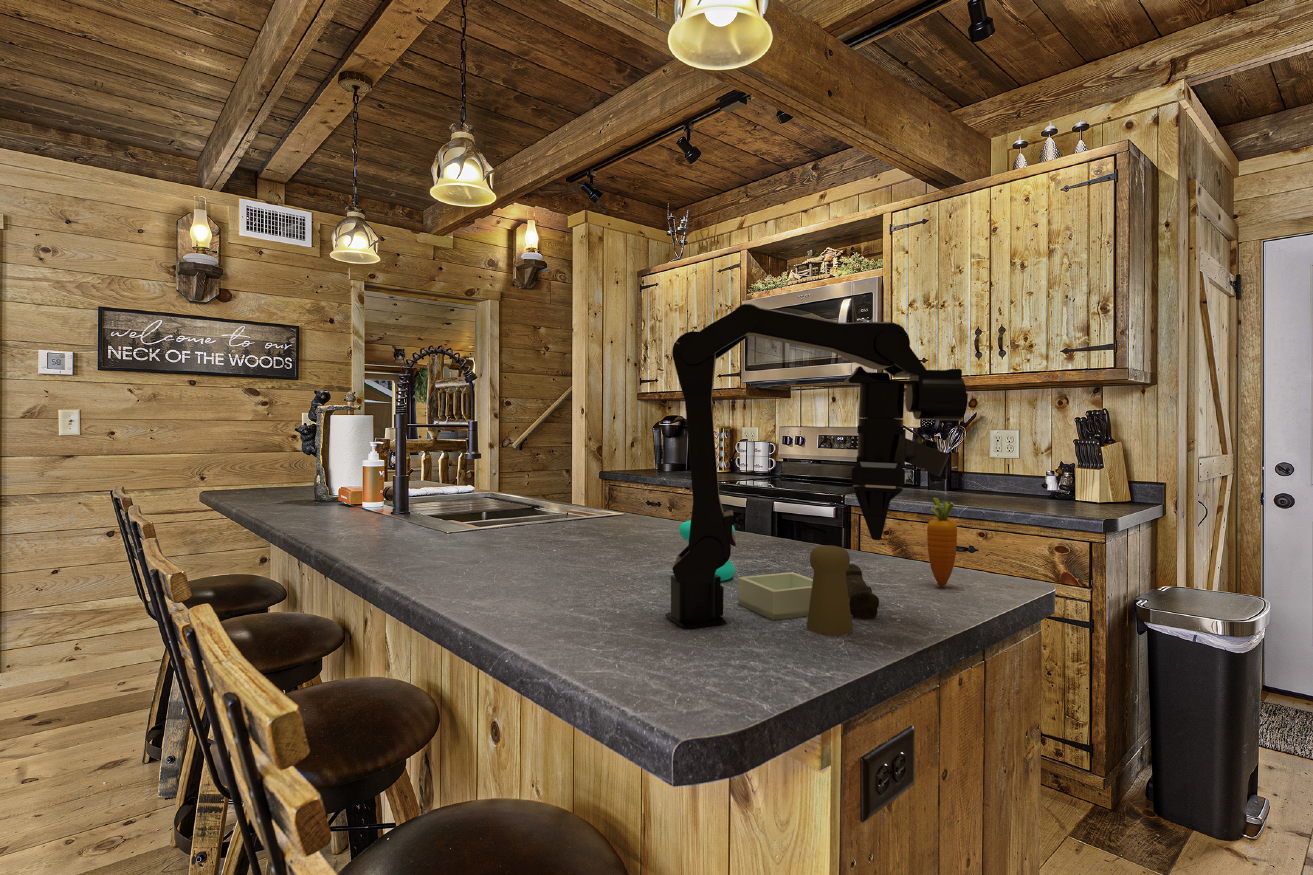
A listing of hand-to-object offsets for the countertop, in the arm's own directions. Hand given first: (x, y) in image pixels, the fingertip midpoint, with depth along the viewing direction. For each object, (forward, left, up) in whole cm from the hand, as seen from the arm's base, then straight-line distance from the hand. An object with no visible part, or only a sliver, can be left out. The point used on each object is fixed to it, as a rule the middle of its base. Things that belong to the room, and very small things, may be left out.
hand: (877, 534), depth 91 cm
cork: (-6, +2, -13) cm, 14 cm away
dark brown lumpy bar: (+6, +12, -13) cm, 18 cm away
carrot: (+26, +14, -13) cm, 32 cm away
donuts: (-7, +36, -13) cm, 39 cm away
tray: (-6, +13, -12) cm, 19 cm away
